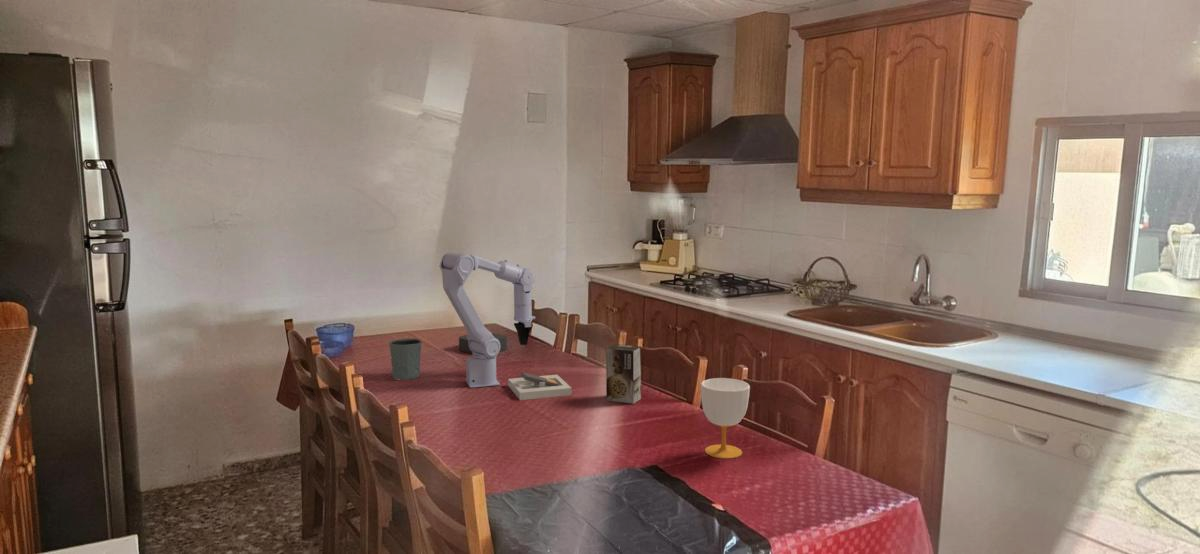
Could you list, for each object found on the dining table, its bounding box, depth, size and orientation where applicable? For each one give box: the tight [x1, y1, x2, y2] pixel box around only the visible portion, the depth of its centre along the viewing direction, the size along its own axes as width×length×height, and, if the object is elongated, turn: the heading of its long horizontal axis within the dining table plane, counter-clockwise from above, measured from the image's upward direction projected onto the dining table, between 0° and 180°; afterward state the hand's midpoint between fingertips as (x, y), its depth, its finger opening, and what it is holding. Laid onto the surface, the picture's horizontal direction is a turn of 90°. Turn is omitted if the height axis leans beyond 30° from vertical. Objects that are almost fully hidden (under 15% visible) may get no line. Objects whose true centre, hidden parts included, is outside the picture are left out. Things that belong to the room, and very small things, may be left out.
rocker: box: [520, 371, 559, 387], centre depth 242 cm, size 11×5×1 cm, turn 109°
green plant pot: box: [388, 338, 422, 381], centre depth 257 cm, size 10×10×12 cm
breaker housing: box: [507, 374, 573, 401], centre depth 242 cm, size 16×16×4 cm
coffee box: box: [605, 343, 642, 405], centre depth 233 cm, size 9×6×16 cm
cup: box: [700, 377, 751, 460], centre depth 190 cm, size 12×12×17 cm
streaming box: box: [458, 332, 508, 355], centre depth 296 cm, size 14×14×5 cm
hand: (523, 344), depth 259 cm, fingers closed
